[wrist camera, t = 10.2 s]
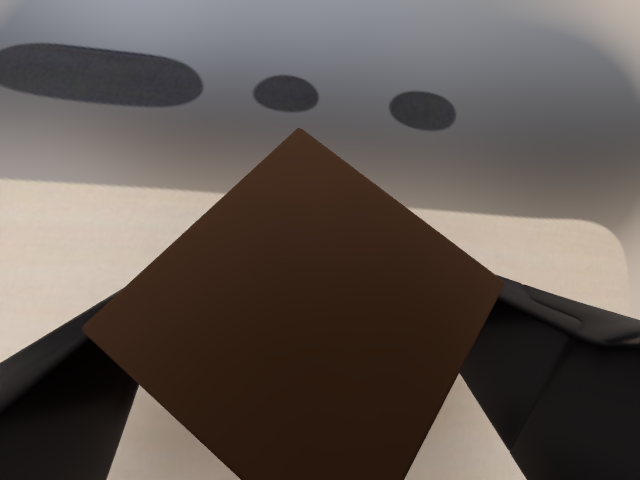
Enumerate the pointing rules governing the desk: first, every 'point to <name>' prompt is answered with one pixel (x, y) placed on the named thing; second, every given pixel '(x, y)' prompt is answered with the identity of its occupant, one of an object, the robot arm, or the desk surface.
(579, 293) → the desk surface
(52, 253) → the desk surface
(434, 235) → the stamp
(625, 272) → the desk surface
